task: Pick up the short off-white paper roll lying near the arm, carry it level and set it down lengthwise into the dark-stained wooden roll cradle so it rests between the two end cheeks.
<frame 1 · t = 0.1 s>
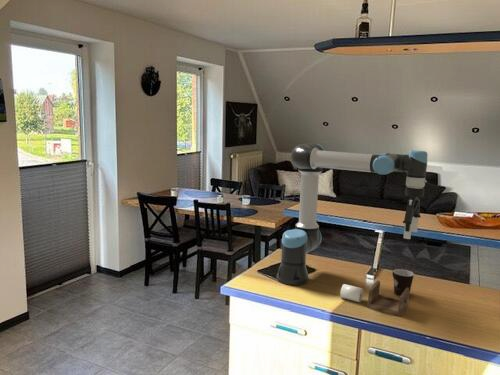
hand: (410, 235, 182), 28 cm above the worktop, fingers open, 13 cm apart
holder: (387, 306, 175), on the worktop
roll: (351, 299, 181), on the worktop
coffee mug: (401, 292, 190), on the worktop
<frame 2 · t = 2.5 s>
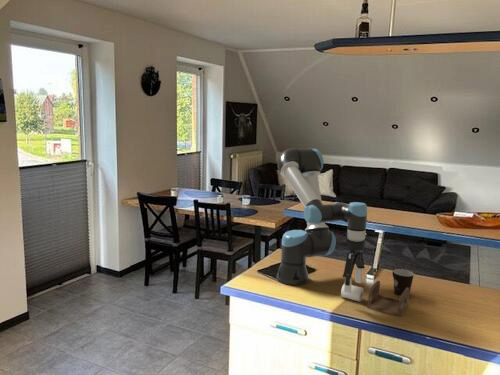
hand: (353, 287, 180), 6 cm above the worktop, fingers open, 13 cm apart
roll: (351, 299, 181), on the worktop, tilted 13°
everything else where it was.
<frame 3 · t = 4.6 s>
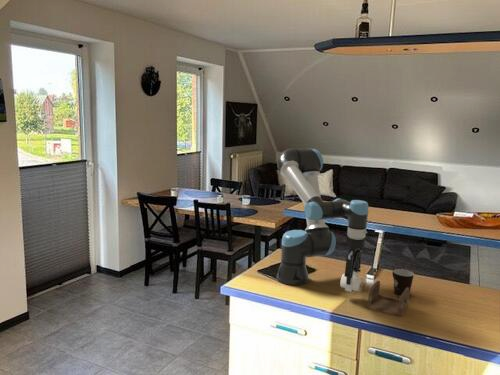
hand: (351, 288, 181), 5 cm above the worktop, fingers closed on roll, 6 cm apart
roll: (350, 289, 180), point 5 cm above the worktop, tilted 17°, touching gripper
everything else where it was.
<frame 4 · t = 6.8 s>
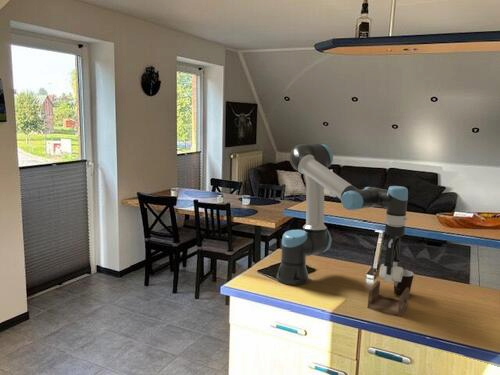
hand: (390, 279, 173), 12 cm above the worktop, fingers closed on roll, 6 cm apart
roll: (390, 280, 172), point 12 cm above the worktop, tilted 18°, touching gripper
everything else where it was.
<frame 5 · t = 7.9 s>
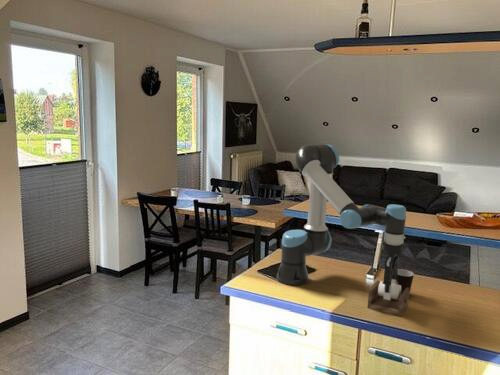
hand: (389, 296, 174), 5 cm above the worktop, fingers closed on roll, 6 cm apart
roll: (388, 297, 173), point 4 cm above the worktop, tilted 18°, touching gripper
everything else where it was.
when the fingers open (2 cm above the worktop, at t = 8.8 s): roll stays where it is, resting on holder.
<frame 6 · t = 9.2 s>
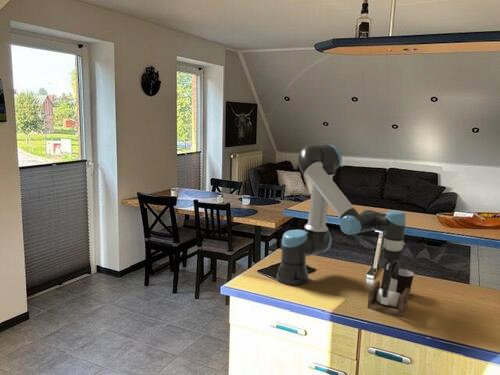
hand: (388, 298, 174), 4 cm above the worktop, fingers open, 12 cm apart
roll: (387, 305, 174), point 1 cm above the worktop, tilted 15°, touching holder
everything else where it was.
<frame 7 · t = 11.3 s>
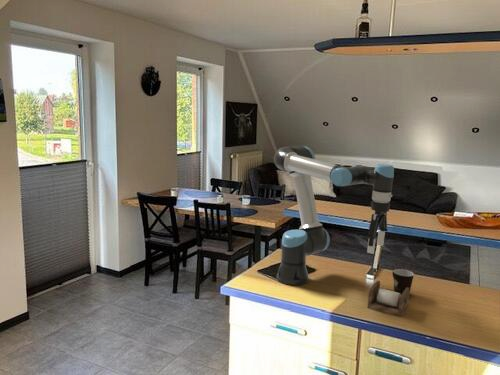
hand: (375, 249, 181), 22 cm above the worktop, fingers open, 13 cm apart
nothing on the worktop moved.
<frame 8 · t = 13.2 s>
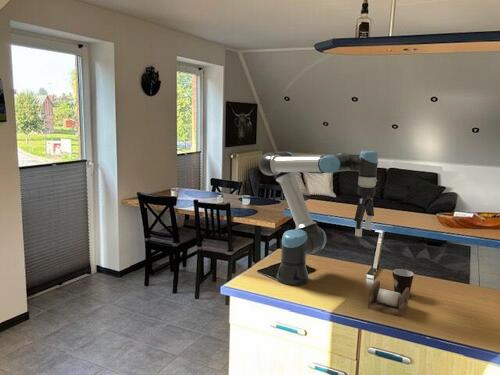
hand: (363, 232, 188), 27 cm above the worktop, fingers open, 13 cm apart
nothing on the worktop moved.
at the end: roll 0.9 cm off-centre on the holder, point 1.2 cm above the holder's base; the gripper is holding nothing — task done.
